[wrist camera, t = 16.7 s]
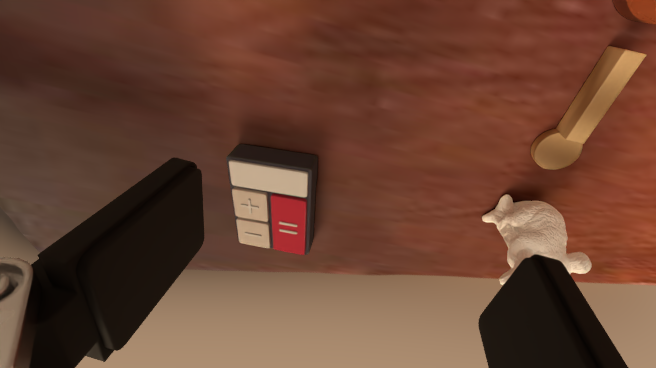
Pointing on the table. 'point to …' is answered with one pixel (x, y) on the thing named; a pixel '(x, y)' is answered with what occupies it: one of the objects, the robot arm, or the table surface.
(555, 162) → the wooden spoon
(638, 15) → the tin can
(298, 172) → the calculator
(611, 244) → the table surface
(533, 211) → the white squirrel figurine
